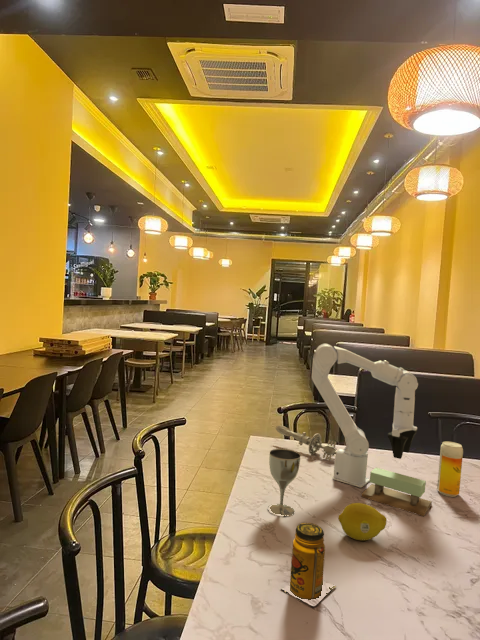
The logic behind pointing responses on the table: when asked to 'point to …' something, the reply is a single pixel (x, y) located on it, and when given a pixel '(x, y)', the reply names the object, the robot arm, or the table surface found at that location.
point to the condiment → (308, 562)
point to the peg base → (397, 499)
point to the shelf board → (398, 482)
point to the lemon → (361, 521)
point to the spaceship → (310, 442)
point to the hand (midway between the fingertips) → (401, 454)
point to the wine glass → (283, 474)
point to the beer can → (450, 468)
